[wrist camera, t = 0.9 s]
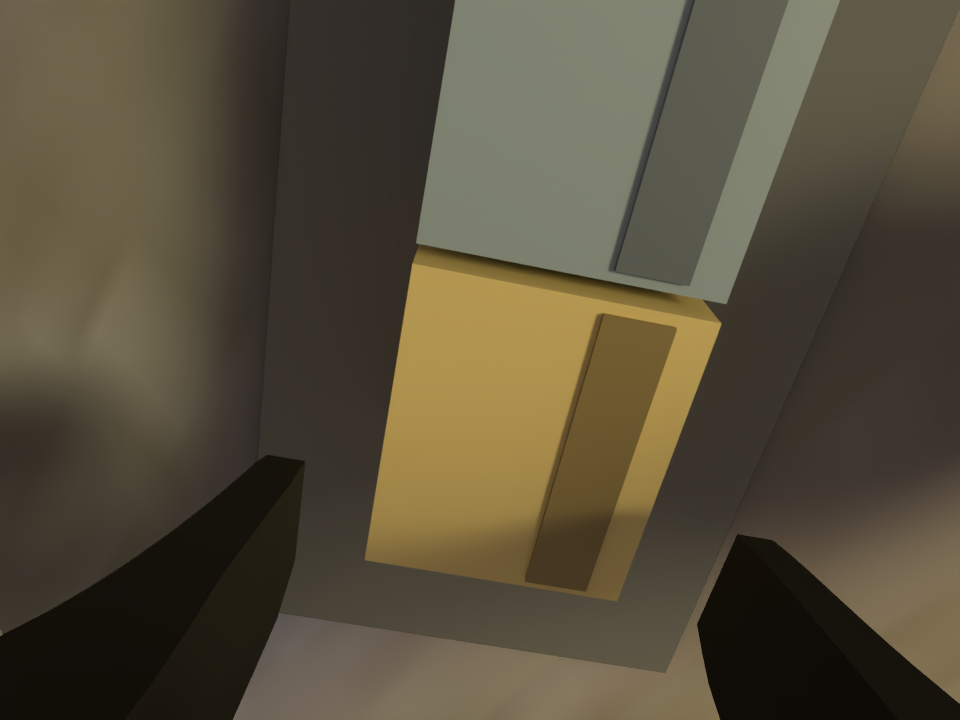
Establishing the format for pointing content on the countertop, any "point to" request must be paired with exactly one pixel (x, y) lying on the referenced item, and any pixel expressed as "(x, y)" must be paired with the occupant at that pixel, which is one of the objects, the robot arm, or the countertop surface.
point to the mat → (384, 287)
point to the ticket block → (617, 133)
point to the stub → (531, 421)
